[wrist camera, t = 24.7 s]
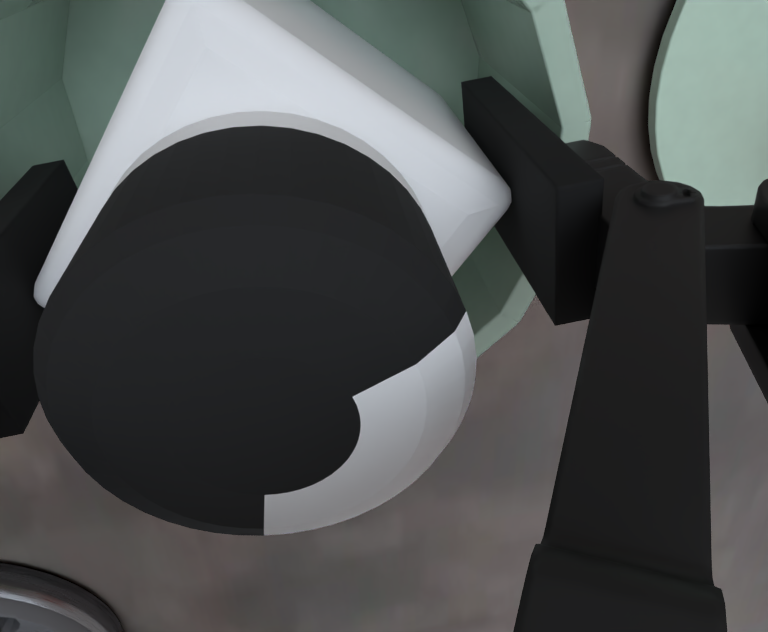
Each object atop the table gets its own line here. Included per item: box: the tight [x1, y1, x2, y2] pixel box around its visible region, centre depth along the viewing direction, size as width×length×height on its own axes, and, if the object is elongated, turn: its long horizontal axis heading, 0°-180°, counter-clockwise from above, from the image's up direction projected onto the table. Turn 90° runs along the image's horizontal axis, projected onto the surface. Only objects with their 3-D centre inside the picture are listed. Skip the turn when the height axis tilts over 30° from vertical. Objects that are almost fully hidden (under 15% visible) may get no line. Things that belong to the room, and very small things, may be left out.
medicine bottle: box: [33, 0, 512, 535], centre depth 13 cm, size 7×7×12 cm
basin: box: [0, 0, 591, 358], centre depth 17 cm, size 14×14×8 cm
